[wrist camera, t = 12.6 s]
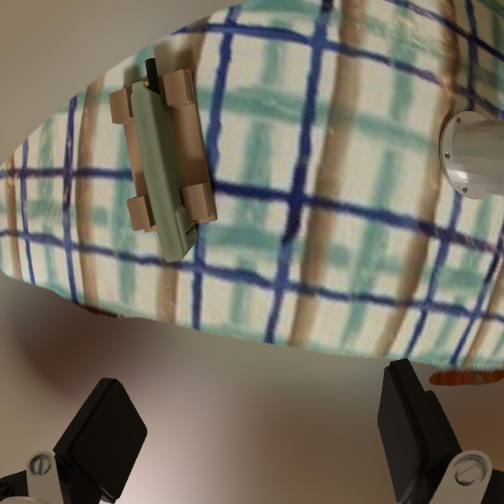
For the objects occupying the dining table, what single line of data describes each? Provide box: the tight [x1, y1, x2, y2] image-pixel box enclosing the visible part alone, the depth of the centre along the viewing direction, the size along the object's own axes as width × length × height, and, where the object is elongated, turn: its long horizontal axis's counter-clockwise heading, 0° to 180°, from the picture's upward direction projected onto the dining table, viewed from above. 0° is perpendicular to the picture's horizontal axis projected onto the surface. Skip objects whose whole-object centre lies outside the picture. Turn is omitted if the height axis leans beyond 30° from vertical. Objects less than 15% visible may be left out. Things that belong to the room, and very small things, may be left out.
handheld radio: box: [130, 58, 198, 262], centre depth 32 cm, size 7×3×25 cm
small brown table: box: [109, 68, 217, 232], centre depth 34 cm, size 10×20×4 cm, turn 10°
